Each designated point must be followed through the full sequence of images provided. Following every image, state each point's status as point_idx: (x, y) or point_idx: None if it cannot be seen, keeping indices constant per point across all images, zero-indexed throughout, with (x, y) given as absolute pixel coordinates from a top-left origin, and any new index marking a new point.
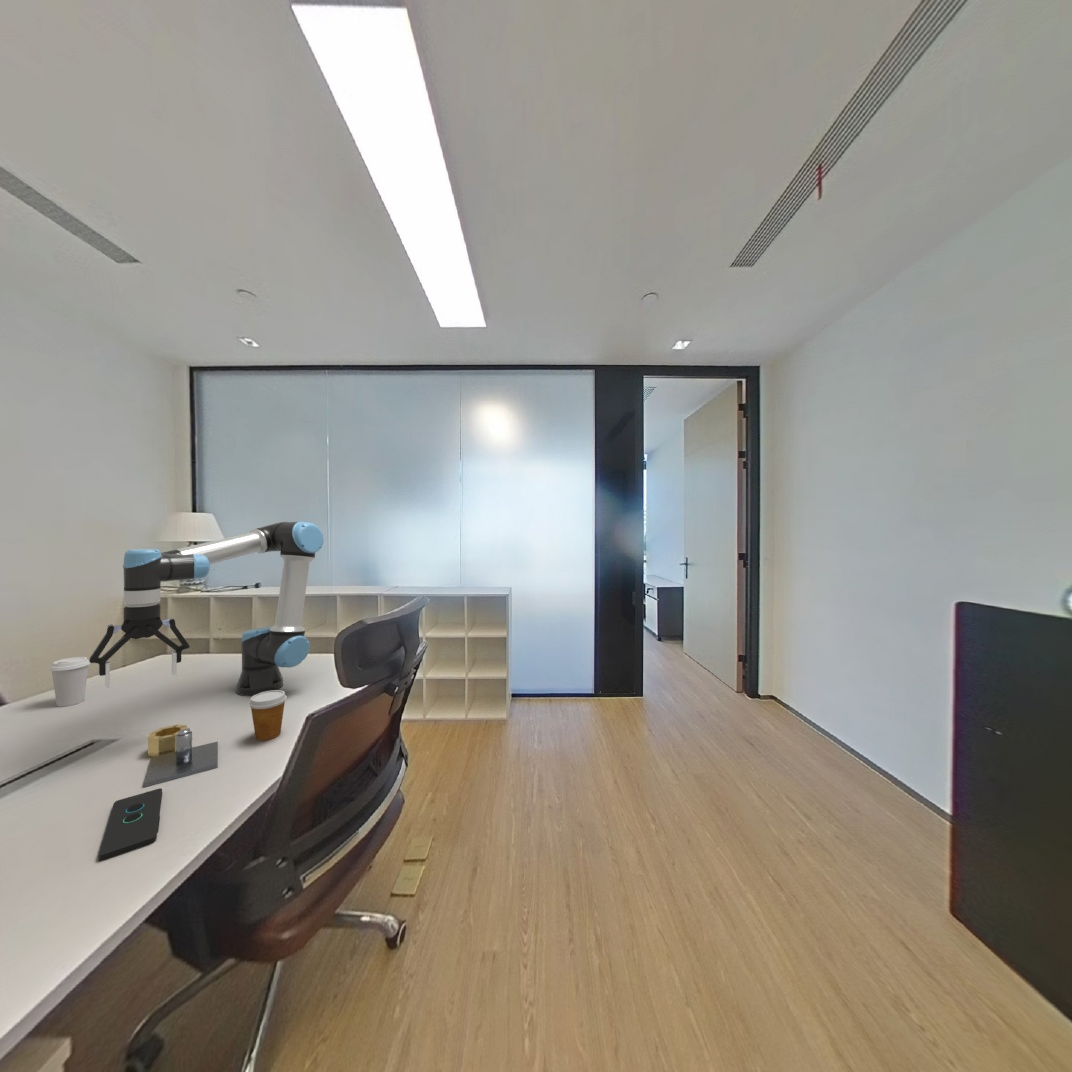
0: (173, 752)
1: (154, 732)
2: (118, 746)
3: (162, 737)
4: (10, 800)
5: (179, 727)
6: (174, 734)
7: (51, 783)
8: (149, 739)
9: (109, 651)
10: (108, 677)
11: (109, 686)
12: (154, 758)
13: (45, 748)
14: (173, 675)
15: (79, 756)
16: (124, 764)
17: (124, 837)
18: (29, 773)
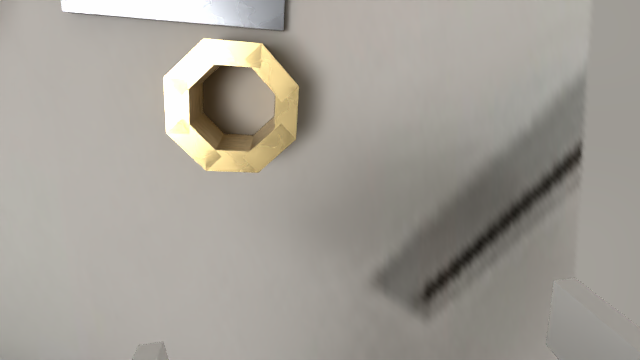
0: (216, 19)
1: (280, 136)
2: (371, 228)
3: (248, 52)
4: (588, 18)
5: (194, 130)
6: (206, 54)
7: (512, 65)
8: (293, 80)
9: None
10: (631, 337)
11: (560, 286)
12: (273, 9)
13: (514, 324)
14: (160, 343)
15: (454, 219)
16: (354, 65)
17: None
18: (547, 179)
